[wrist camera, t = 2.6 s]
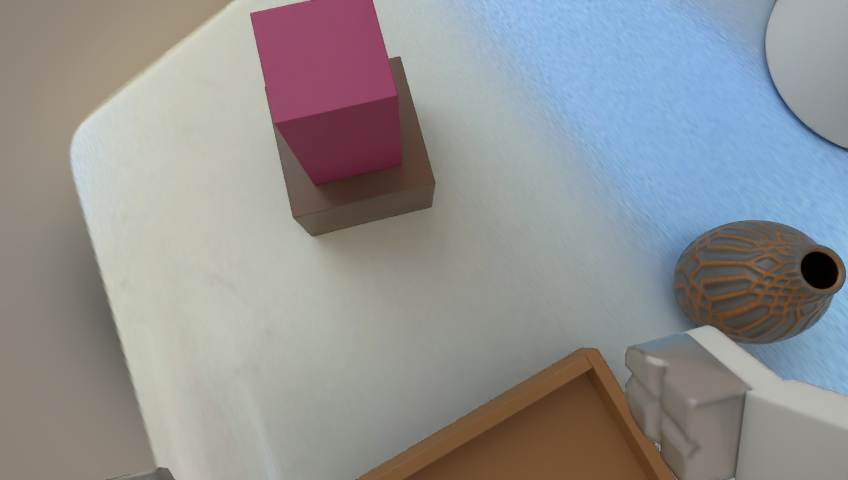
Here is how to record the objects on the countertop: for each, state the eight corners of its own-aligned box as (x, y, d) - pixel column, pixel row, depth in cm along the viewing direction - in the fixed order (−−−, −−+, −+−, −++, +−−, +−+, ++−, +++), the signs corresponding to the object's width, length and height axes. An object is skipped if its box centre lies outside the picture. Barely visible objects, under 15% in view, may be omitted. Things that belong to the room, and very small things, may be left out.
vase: (784, 293, 31) (925, 277, 23) (712, 366, 30) (830, 378, 22) (706, 214, 32) (813, 170, 24) (633, 282, 31) (717, 261, 23)
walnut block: (402, 96, 33) (400, 55, 28) (431, 206, 32) (435, 183, 27) (286, 123, 33) (264, 86, 28) (311, 236, 31) (293, 218, 26)
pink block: (381, 84, 28) (369, -13, 20) (402, 164, 27) (398, 95, 19) (295, 103, 28) (249, 12, 20) (314, 185, 27) (273, 124, 19)
